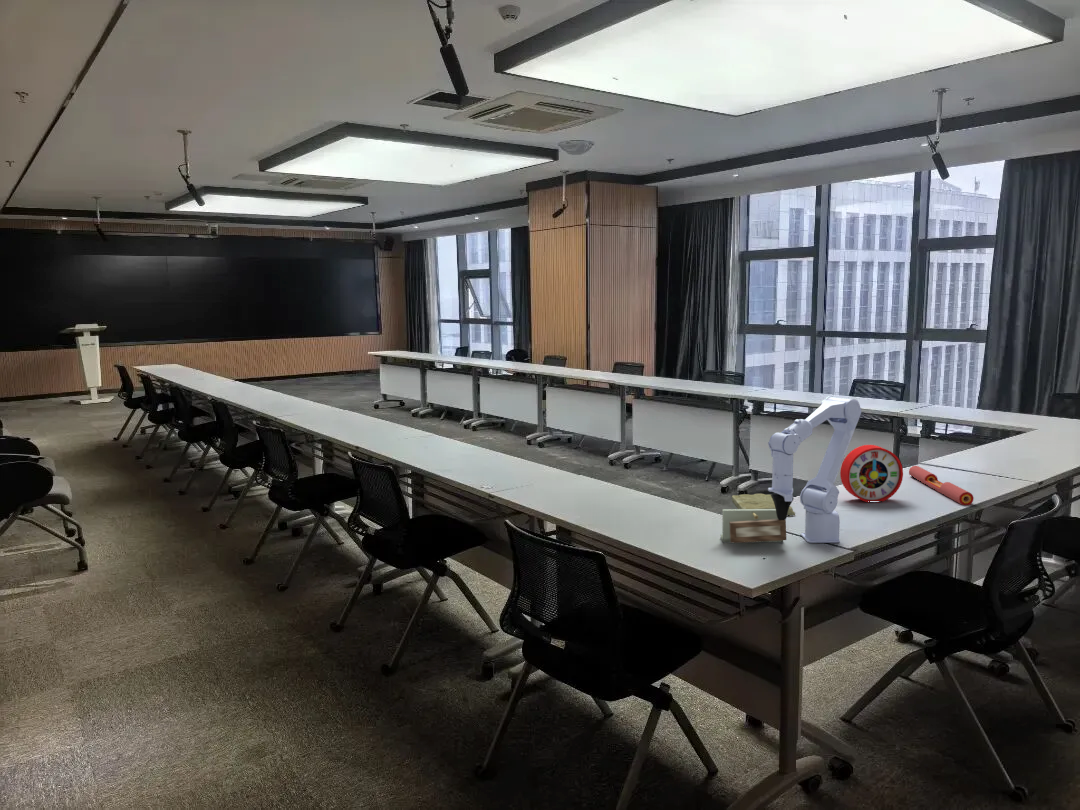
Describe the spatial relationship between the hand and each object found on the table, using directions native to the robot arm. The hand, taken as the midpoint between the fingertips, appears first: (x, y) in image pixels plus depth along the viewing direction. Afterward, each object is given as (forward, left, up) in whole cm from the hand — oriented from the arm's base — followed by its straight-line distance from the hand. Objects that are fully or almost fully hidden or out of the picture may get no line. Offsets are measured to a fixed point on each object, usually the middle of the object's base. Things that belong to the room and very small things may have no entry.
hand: (781, 519), depth 216 cm
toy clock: (-45, -51, -9) cm, 68 cm away
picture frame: (+7, 0, -7) cm, 9 cm away
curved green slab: (+7, -6, -9) cm, 13 cm away
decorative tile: (-5, -42, -10) cm, 43 cm away
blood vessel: (-75, -66, -9) cm, 100 cm away
